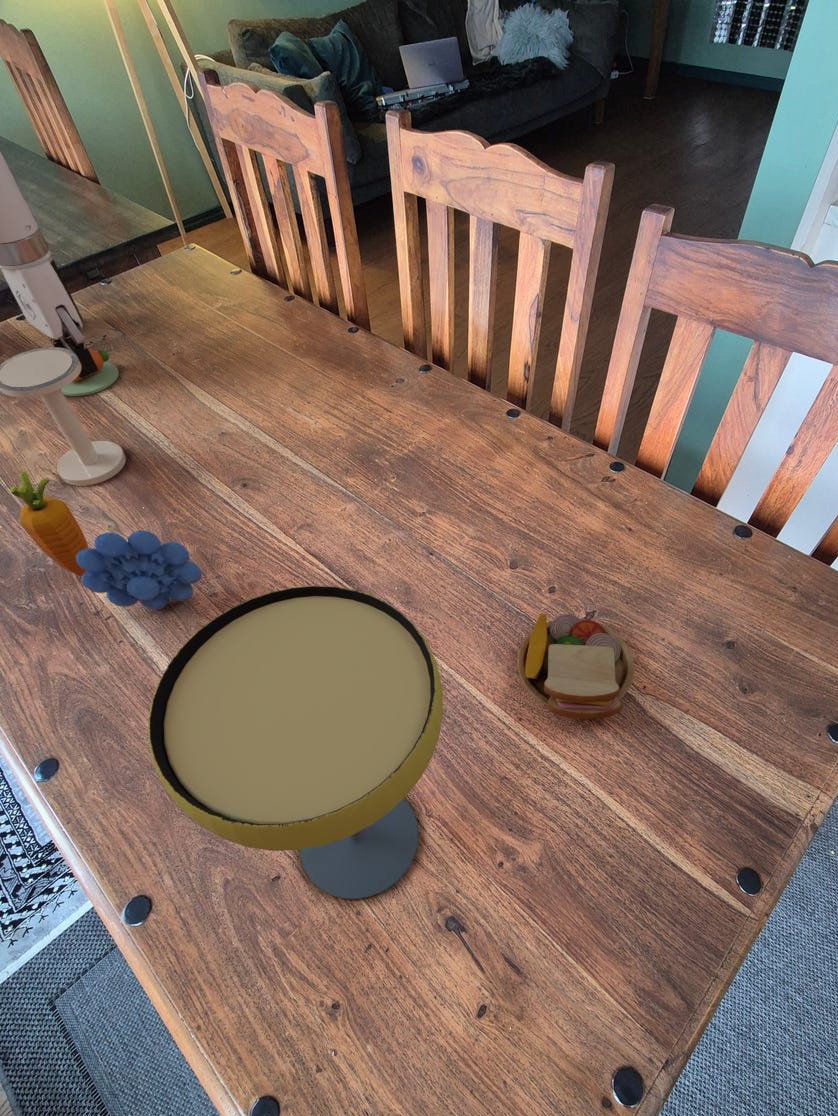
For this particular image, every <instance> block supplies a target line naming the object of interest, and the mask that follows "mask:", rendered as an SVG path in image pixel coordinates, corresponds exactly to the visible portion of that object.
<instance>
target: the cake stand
mask: <svg viewBox="0 0 838 1116" xmlns="http://www.w3.org/2000/svg"><path fill="white" fill-rule="evenodd" d="M81 368H82V366H81V363H80V361H79V359H78V357H77V355H76V354H75V353H74V352H73V351H71V350H68V349H65V348H59V347H54V346H48V347H47V346H46V347H39V348H34V349H30V350H29V349H28V350H26V351H23V352H21V353H20V352H19V353H18V354H15V355H14V356H11V357H9V358H7V359H6V360H4V361H3V362H2V363H1V364H0V392H1V393H2V394H3V395H5V396H7V397H11V398H12V397H13V398H23V399H24V398H34V397H39V396H40V398H41V400H42V402H43V403H44V405H45V407H46V409H47V410H48V412H49V414H50V415H51V417H52V418H53V420H54V422H55V424H56V425H57V426H58V429H59V431H60V432H61V433H62V435H63V437H64V438H65V440H66V441H67V443H68V445H69V447H70V450H68V451H66V452H65V453H64V454H63V455H62V456H61V457H60V458H59V460H58V461H57V463H56V472H57V474H58V475H59V477H60V478H61V480H62V481H63V482H64V483H66V484H68V485H72V486H78V487H87V486H93V485H97V484H100V483H102V482H105V481H108V480H110V479H111V478H113V477H114V476H116V475H117V474H119V473H120V472H121V470H122V469H123V468H124V467H125V464H126V460H127V457H126V454H125V452H124V450H123V448H122V447H121V446H120V445H119V444H117V443H116V442H114V441H108V440H95V441H94V440H93V441H91V439H90V438H89V436H88V433H87V432H86V431H85V430H84V427H83V426H82V424H81V422H80V420H79V418H78V417H77V415H76V413H75V411H74V410H73V408H72V406H71V405H70V403H69V401H68V400H67V398H66V395H64V394H63V392H62V391H61V388H63V387H65V386H66V385H68V384H70V383H71V382H72V381H74V380H75V379H76V378H77V377H78V375H79V374H80V372H81Z"/></svg>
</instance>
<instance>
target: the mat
mask: <svg viewBox="0 0 838 1116" xmlns="http://www.w3.org/2000/svg"><path fill="white" fill-rule="evenodd" d="M119 374H120V373H119V369H118V367H117V366H116V365H115V364H114V363H113V362H111V361H106V362H104V364H103V368H102V369H101V370H100V371H99V372H97V373H95V374H93V375H90V376H88V377H86V378H84V379H81V380H79V381H77V382H71V383H70V384H68V385H66V386H65V387H63V388H61V391H62V392H63V394H64V396H65V397H66V396H67V397H83V396H89V395H90V396H91V395H93V394H96V393H99V392H102V391H104V390H105V389H107V388H109V387H110V386H112V385H113V384H114V383H115V382H116V381H117V379H118V378H119Z"/></svg>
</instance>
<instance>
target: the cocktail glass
mask: <svg viewBox="0 0 838 1116" xmlns="http://www.w3.org/2000/svg"><path fill="white" fill-rule="evenodd" d="M443 715H444V697H443V685H442V680H441V676H440V671H439V667H438V663H437V660H436V659H435V656H434V654H433V651H432V650H431V647H430V645H429V643H428V641H427V639H426V638H425V636H424V635H423V634H422V632H421V631H420V629H419V628H418V627H417V626H416V624H415V623H414V622H413V621H411V620H410V618H408V617H407V616H406V615H405V614H404V613H403V612H402V611H401V610H399V609H397V608H396V607H395V606H393V605H392V604H390V603H389V602H387V601H385V600H383V599H380V598H379V597H376V596H374V595H372V594H369V593H366V592H363V591H360V590H357V589H354V588H347V587H342V586H335V585H334V586H333V585H305V586H296V587H289V588H284V589H279V590H273V591H270V592H267V593H265V594H261V595H257V596H255V597H251V598H250V599H247V600H245V601H243V602H241V603H239V604H236V605H234V606H232V607H230V608H229V609H226V610H225V611H224V612H222V613H220V614H219V615H217V616H215V617H213V618H212V619H211V620H210V621H209V622H207V623H206V624H205V625H203V626H202V627H201V628H200V629H198V630H197V631H196V632H195V633H194V634H193V635H192V636H191V637H190V638H189V639H188V640H187V641H186V642H185V643H184V644H183V645H182V646H181V647H180V649H178V651H177V652H176V653H175V655H174V656H173V657H172V658H171V660H170V661H169V663H168V665H167V666H166V668H165V670H164V671H163V673H162V674H161V677H160V679H159V680H158V683H157V685H156V687H155V691H154V694H153V696H152V699H151V703H150V708H149V715H148V719H147V721H148V722H147V723H148V724H147V725H148V726H147V727H148V728H147V729H148V746H149V751H150V755H151V759H152V763H153V766H154V768H155V771H156V773H157V775H158V777H159V779H160V781H161V783H162V785H163V787H164V789H165V791H166V792H167V793H168V794H169V796H170V797H171V798H172V799H173V801H174V802H175V803H176V805H177V806H178V808H179V809H180V810H181V811H183V813H184V814H186V815H187V816H188V817H189V818H190V819H192V820H193V821H194V822H195V823H196V824H198V825H199V826H200V827H201V828H203V829H204V830H206V831H208V832H210V833H212V834H214V835H215V836H217V837H219V838H220V839H223V840H225V841H228V842H231V843H234V844H237V845H240V846H243V847H246V848H249V849H250V848H251V849H255V850H256V849H257V850H264V851H270V852H280V851H281V852H283V851H299V853H300V860H301V864H302V866H303V869H304V871H305V873H306V876H308V878H309V879H310V881H311V882H312V883H313V884H314V885H315V886H316V887H317V888H318V889H319V890H321V891H323V892H324V893H326V894H328V895H330V896H332V897H335V898H339V899H344V900H361V899H366V898H370V897H373V896H377V895H378V894H381V893H382V892H385V891H387V890H388V889H390V888H391V887H392V886H393V885H394V884H395V885H396V883H398V881H399V880H400V879H401V878H402V877H404V875H405V873H406V872H407V871H408V869H409V868H410V866H411V864H412V863H413V860H414V858H415V855H416V852H417V849H418V844H419V843H418V842H419V826H418V820H417V818H416V815H415V812H414V810H413V808H412V807H411V806H410V803H408V801H407V800H406V799H405V798H406V797H407V796H408V795H409V794H410V792H411V791H412V790H413V789H414V787H415V786H416V784H418V782H419V781H420V780H421V778H422V777H423V775H424V773H425V771H426V770H427V767H428V766H429V764H430V762H431V760H432V758H433V755H434V753H435V750H436V747H437V744H438V741H439V738H440V736H441V729H442V724H443V723H442V722H443Z"/></svg>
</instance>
